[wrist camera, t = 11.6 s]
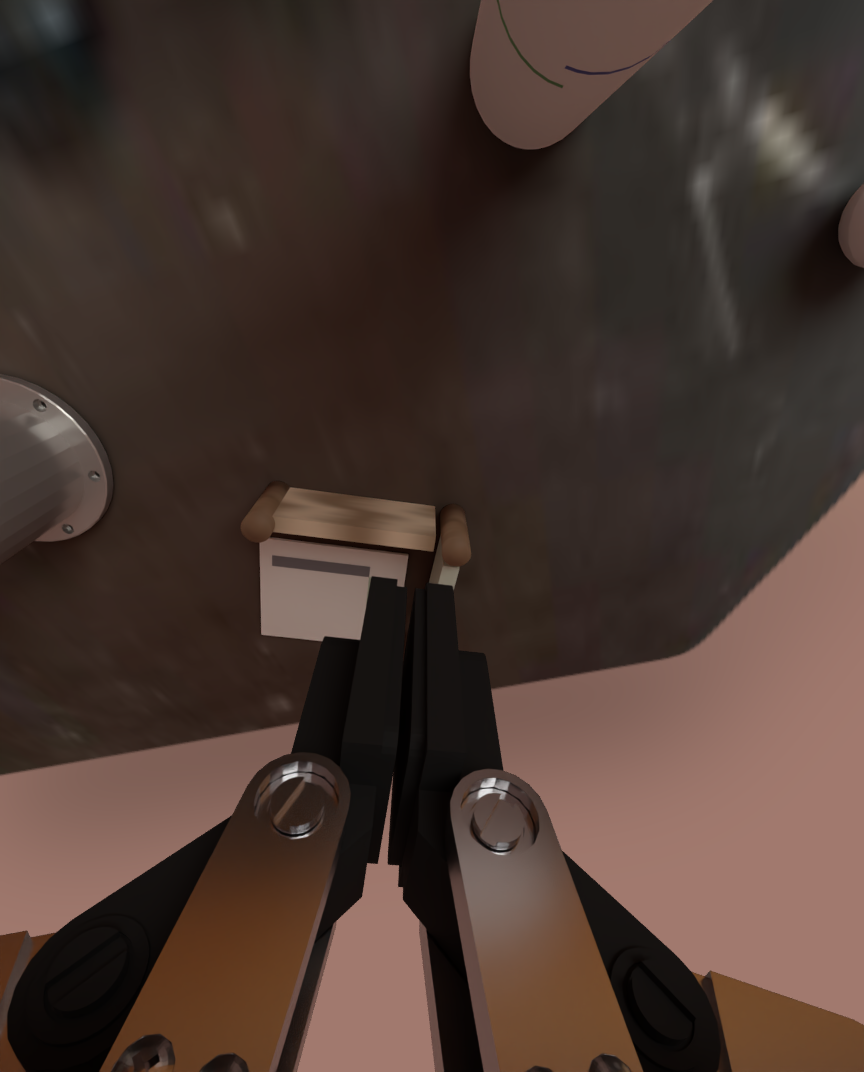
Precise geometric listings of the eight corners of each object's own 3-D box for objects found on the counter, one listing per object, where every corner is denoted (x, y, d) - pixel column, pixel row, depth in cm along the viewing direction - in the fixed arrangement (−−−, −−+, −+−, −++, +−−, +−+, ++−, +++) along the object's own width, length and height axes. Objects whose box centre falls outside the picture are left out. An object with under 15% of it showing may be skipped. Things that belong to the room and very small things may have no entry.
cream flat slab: (437, 531, 40) (438, 564, 35) (459, 535, 40) (463, 568, 35) (409, 648, 45) (407, 690, 41) (428, 651, 46) (428, 693, 41)
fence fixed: (266, 503, 39) (241, 540, 33) (266, 479, 38) (240, 514, 32) (462, 528, 40) (468, 568, 35) (467, 505, 39) (473, 543, 34)
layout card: (262, 632, 45) (261, 634, 44) (260, 535, 40) (259, 538, 40) (395, 646, 46) (394, 649, 45) (408, 553, 41) (408, 556, 41)
